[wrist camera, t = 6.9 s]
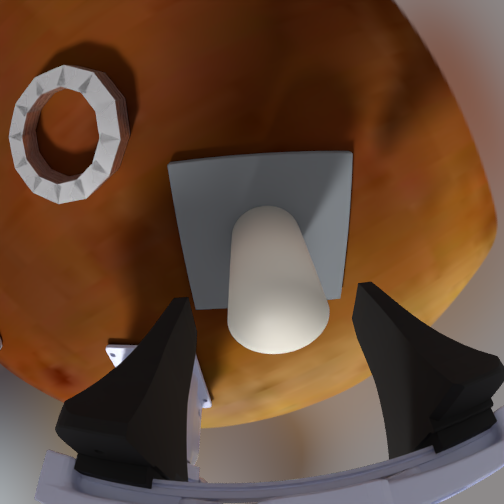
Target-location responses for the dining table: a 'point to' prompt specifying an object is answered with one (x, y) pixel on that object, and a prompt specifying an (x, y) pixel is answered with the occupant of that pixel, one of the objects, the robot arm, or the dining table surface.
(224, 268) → the mat
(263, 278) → the peg
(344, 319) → the dining table surface
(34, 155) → the ring
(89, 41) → the dining table surface
